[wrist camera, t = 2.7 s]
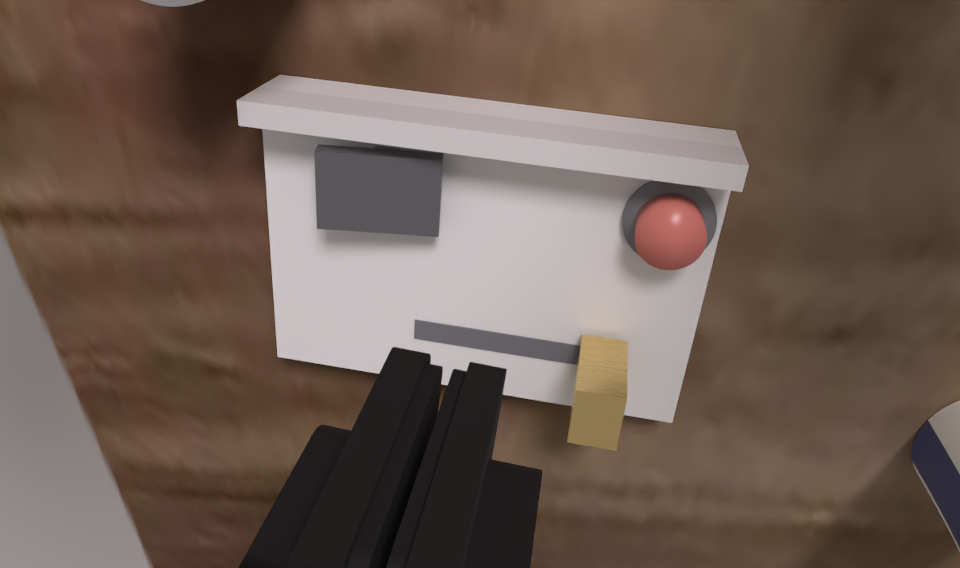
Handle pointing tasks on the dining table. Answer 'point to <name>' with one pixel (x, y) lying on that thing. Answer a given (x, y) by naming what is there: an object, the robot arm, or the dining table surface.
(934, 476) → the white striped vase
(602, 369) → the brass slider
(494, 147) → the console
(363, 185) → the dark grey flat panel
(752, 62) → the dining table surface
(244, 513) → the dining table surface
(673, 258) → the red button
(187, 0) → the supplement bottle
